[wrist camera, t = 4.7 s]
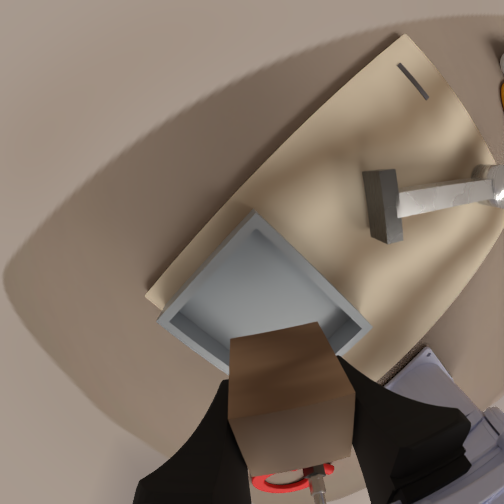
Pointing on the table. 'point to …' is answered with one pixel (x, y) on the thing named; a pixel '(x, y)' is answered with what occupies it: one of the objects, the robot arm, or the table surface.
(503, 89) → the motor
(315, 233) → the base board
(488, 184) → the crank lever
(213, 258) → the tray
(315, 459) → the block
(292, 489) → the tow hook
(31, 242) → the table surface
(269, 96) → the table surface
